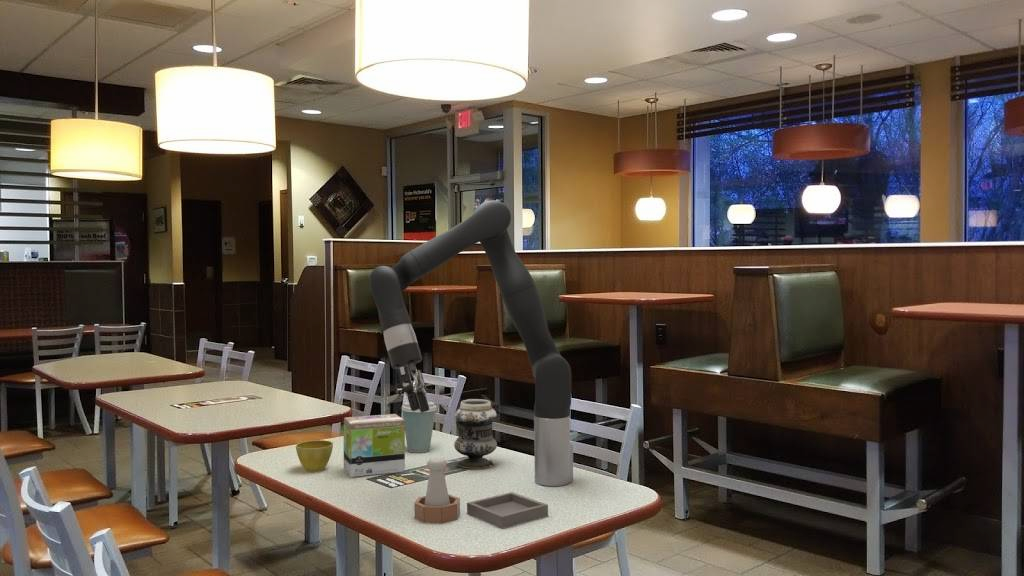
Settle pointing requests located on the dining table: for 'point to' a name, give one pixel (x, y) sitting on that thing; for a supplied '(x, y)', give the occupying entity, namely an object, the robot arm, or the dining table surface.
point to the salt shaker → (436, 483)
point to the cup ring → (437, 511)
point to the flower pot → (314, 454)
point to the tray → (507, 509)
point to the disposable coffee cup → (418, 427)
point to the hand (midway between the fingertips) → (420, 410)
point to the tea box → (374, 445)
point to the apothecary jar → (475, 433)
